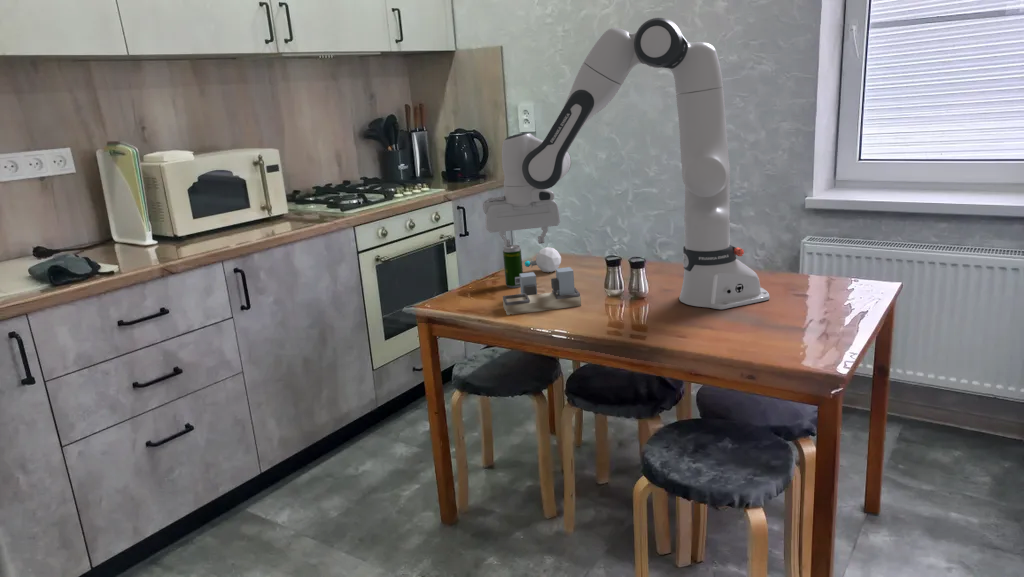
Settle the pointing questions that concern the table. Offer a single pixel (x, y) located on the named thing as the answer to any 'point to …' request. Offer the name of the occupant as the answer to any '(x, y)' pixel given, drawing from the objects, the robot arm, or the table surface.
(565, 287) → the block
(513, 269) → the beer can
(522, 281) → the block
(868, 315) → the table surface
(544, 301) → the rail
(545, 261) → the perfume bottle
